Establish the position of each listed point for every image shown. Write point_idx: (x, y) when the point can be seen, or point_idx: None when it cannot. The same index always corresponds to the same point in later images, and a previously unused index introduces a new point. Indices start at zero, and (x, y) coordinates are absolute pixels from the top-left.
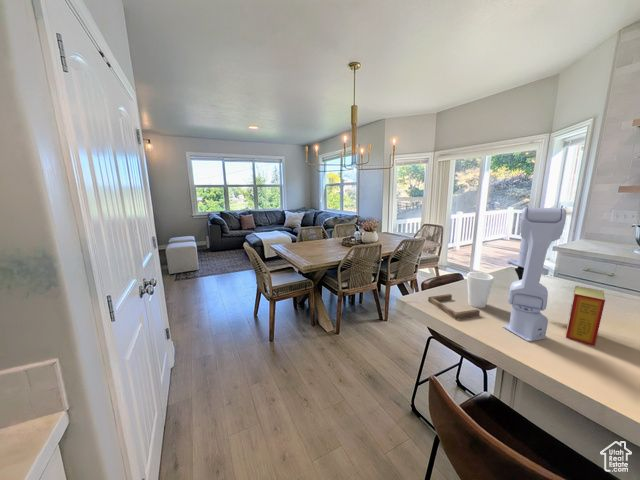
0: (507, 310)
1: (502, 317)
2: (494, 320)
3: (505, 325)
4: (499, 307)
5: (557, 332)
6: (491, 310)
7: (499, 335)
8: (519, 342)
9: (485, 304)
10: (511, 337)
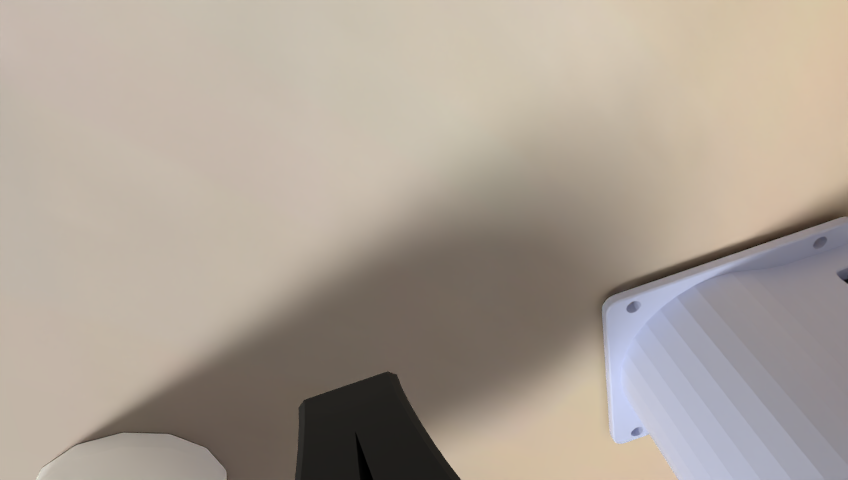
0: (290, 264)
1: (458, 376)
2: (502, 448)
3: (621, 426)
4: (202, 315)
5: (828, 37)
6: (296, 415)
7: None
8: None
9: (213, 476)
10: None
